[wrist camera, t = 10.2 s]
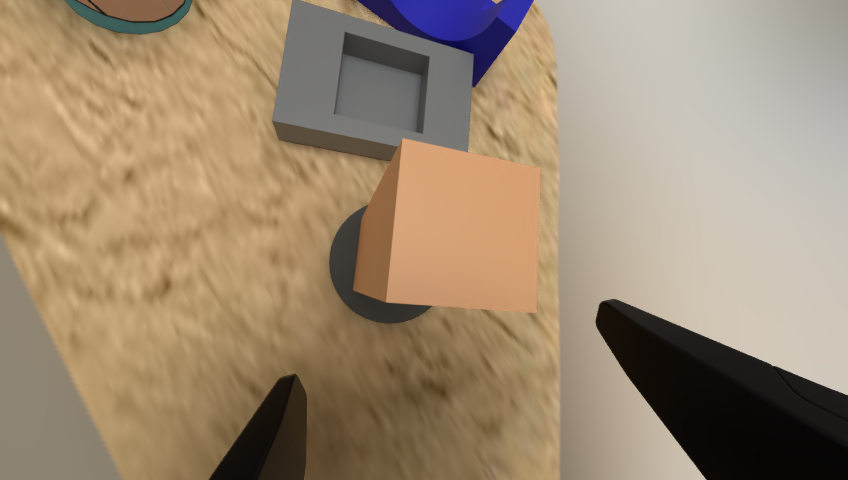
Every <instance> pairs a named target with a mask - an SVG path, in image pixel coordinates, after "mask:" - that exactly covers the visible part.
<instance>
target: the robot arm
mask: <svg viewBox="0 0 848 480" xmlns="http://www.w3.org/2000/svg"><path fill="white" fill-rule="evenodd" d="M596 326H597V329H598V330H599V332H600V334H601V335H602V337H603V338H604V340H605V342H606V343H607V345H608V346H609V348H610V349H611V351H612V353H613V354H614V356H615V358H616V359H617V361H618V362H619V364H620V366H621V367H622V368H623V370H624V372H625V373H626V375H627V376H628V377H629V379H630V380H631V381H632V383H633V384H634V385H635V386H636V388H637V389H638V391H639V392H640V393H641V395H642V396H643V397H644V398H645V400H646V401H647V403H648V404H649V405H650V406H651V408H652V409H653V410H654V412H655V413H656V414H657V416H658V417H659V418H660V420H661V421H662V422H663V423H664V425H665V426H666V427H667V429H668V430H669V431H670V433H671V434H672V435H673V436H674V438H675V439H676V441H677V442H678V443H679V444H680V446H681V447H682V448H683V450H684V451H685V452H686V453H687V455H688V456H689V458H690V459H691V460H692V461H693V463H694V464H695V465H696V467H697V468H698V469H699V471H700V472H701V473H702V475H703V476H704V477H705V479H706V480H848V395H845V394H843V393H840V392H838V391H835V390H832V389H830V388H827V387H825V386H822V385H820V384H817V383H815V382H812V381H810V380H807V379H805V378H803V377H800V376H798V375H795V374H793V373H790V372H788V371H785V370H783V369H781V368H779V367H776V366H772V365H771V364H769V363H767V362H764V361H762V360H759V359H757V358H755V357H752V356H750V355H747V354H745V353H742V352H740V351H738V350H736V349H733V348H731V347H728V346H726V345H723V344H721V343H719V342H717V341H714V340H712V339H709V338H707V337H704V336H702V335H700V334H697V333H695V332H693V331H690V330H688V329H685V328H683V327H681V326H678V325H676V324H673V323H671V322H669V321H667V320H664V319H662V318H659V317H657V316H655V315H652V314H650V313H647V312H645V311H643V310H640V309H638V308H636V307H633V306H631V305H628V304H626V303H624V302H621V301H619V300H616V299H611V300H606V301H602V302H601V303H600V304H599V308H598V313H597V317H596ZM306 428H307V396H306V392H305V390H304V388H303V386H302V384H301V381H300V379H299V377H298V376H297V375H296V374H292V375H287V376H283V377H281V378H280V379H278V381H277V382H276V384H275V385H274V386H273V388H272V389H271V391H270V392H269V394H268V395H267V397H266V398H265V399H264V401H263V402H262V404H261V405H260V407H259V408H258V409H257V411H256V412H255V414H254V415H253V417H252V418H251V419H250V421H249V422H248V424H247V425H246V427H245V428H244V429H243V431H242V432H241V434H240V435H239V437H238V438H237V440H236V441H235V442H234V444H233V445H232V447H231V448H230V450H229V451H228V452H227V454H226V455H225V457H224V458H223V460H222V461H221V462H220V464H219V465H218V467H217V468H216V470H215V471H214V473H213V474H212V475H211V477H210V478H209V480H304V474H305V464H306Z"/></svg>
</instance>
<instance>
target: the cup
mask: <svg viewBox="0 0 848 480" xmlns="http://www.w3.org/2000/svg"><path fill="white" fill-rule="evenodd" d="M65 1H66V2H67V3H68V4H69V5H70V6H71V7H72V8H73V9H74V10H75V11H76V13H77V14H79V15H81V16H82V17H84V18H86V19H87V20H89V21H90V22H92V23H94V24H95V25H97V26H100V27H103V28H107V29H110V30H113V31H116V32H119V33H132V34H146V33H152V32H158V31H162V30H164V29H166V28H168V27H170V26H172V25H174V24H176V23H178V22H179V21H180V20H181V18H182V17H183V16H184V15H185V14H186V13H187V12H188V11H189V8H190V5H191V2H192V0H65Z"/></svg>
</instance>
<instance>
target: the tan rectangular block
mask: <svg viewBox="0 0 848 480" xmlns="http://www.w3.org/2000/svg"><path fill="white" fill-rule="evenodd" d="M539 207H540V168H538V167H533V166H528V165H524V164H519V163H515V162H510V161H505V160H501V159H496V158H492V157H487V156H482V155H478V154H473V153H469V152H464V151H459V150H455V149H450V148H446V147H441V146H437V145H432V144H427V143H423V142H418V141H414V140H409V139H404V138H402V140H401V142H400V144H399V146H398V148H397V150H396V152H395V154H394V156H393V158H392V160H391V162H390V164H389V165H388V167H387V169H386V171H385V173H384V175H383V177H382V179H381V181H380V183H379V185H378V187H377V189H376V191H375V193H374V195H373V197H372V199H371V201H370V203H369V205H368V207H367V209H366V211H365V213H364V215H363V217H362V219H361V226H360V235H359V244H358V252H357V261H356V269H355V278H354V286H353V291H356V292H359V293H362V294H364V295H367V296H370V297H372V298H375V299H378V300H381V301H383V302H386V303H400V304H415V305H429V306H443V307H458V308H472V309H487V310H501V311H516V312H530V313H537V287H538V247H539Z"/></svg>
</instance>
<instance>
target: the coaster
mask: <svg viewBox="0 0 848 480" xmlns="http://www.w3.org/2000/svg"><path fill="white" fill-rule="evenodd" d="M367 207H368V206H365V207H363V208H361V209H360V210H358V211H356V212H355V213H354V214H352V215H351V216H350V217H349V218H348V219H347V220H346V221H345V222H344V223H343V224H342V226H341V227H340V229H339V230H338V232H337V234H336V236H335V238H334V241H333V244H332V247H331V253H330V272H331V277H332V280H333V283H334V286H335V288H336V290H337V292H338V294H339V295H340V297H341V298H342V299H343V301H344V302H345V303H346V304H347V305H348V306H349V307H350V308H351V309H352V310H354V311H355V312H356V313H358V314H359V315H361V316H363V317H365V318H367V319H370V320H373V321H376V322H382V323H399V322H404V321H408V320H411V319H413V318H415V317H418V316H419V315H421V314H423V313H424V312H426V311H427V310H428V309H429V308H430V307H431V306H429V305H415V304H400V303H386V302H383V301H381V300H378V299H375V298H372V297H370V296H367V295H364V294H362V293H359V292H356V291H353V286H354V278H355V269H356V261H357V252H358V244H359V235H360V226H361V219H362V217H363V215H364V213H365V211H366V209H367Z"/></svg>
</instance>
